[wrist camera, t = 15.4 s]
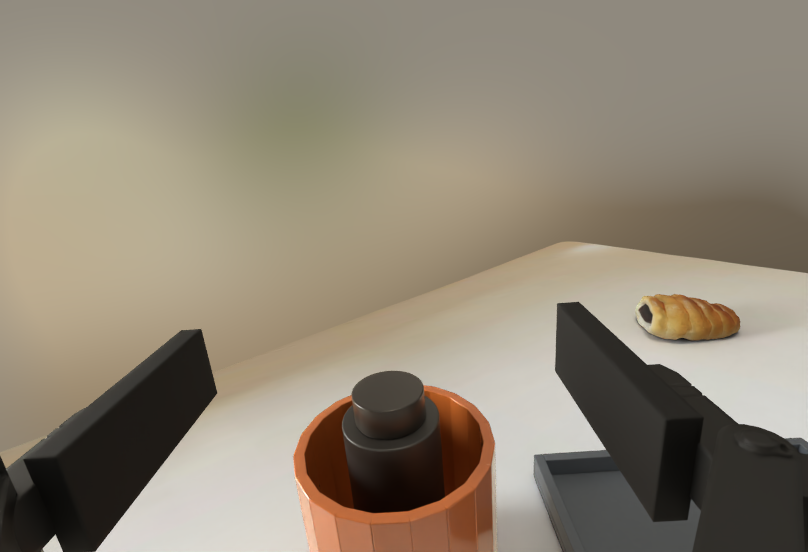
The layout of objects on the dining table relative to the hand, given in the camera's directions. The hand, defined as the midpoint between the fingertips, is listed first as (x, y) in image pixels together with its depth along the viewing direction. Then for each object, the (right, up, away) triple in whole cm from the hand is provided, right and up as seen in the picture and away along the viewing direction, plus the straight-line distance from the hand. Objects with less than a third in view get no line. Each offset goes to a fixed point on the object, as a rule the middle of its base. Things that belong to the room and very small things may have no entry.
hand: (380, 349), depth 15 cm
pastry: (+31, -3, +30) cm, 44 cm away
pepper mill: (+1, -13, +6) cm, 14 cm away
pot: (+1, -13, +6) cm, 15 cm away
